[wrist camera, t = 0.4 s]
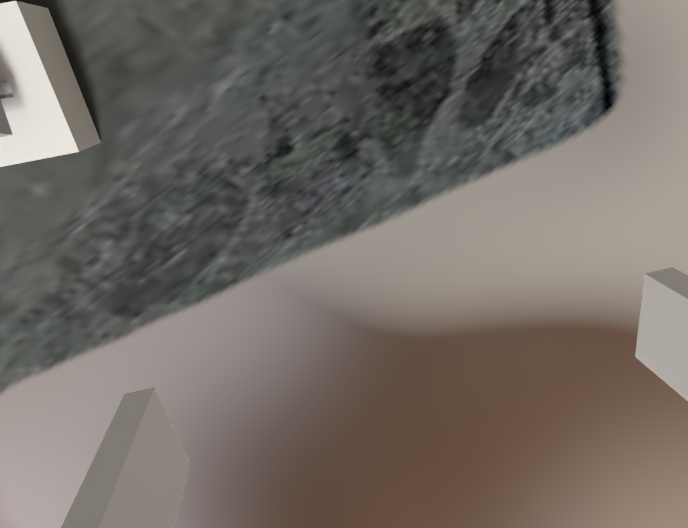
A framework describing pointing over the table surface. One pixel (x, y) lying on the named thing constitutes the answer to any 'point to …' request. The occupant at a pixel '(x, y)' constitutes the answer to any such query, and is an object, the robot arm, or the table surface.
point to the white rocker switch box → (39, 89)
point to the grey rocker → (4, 123)
